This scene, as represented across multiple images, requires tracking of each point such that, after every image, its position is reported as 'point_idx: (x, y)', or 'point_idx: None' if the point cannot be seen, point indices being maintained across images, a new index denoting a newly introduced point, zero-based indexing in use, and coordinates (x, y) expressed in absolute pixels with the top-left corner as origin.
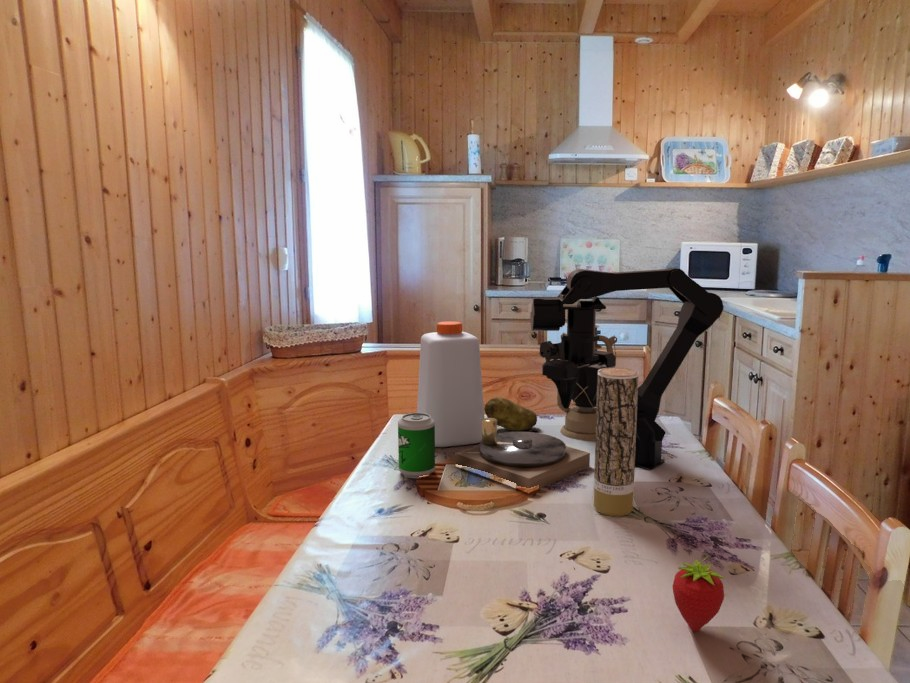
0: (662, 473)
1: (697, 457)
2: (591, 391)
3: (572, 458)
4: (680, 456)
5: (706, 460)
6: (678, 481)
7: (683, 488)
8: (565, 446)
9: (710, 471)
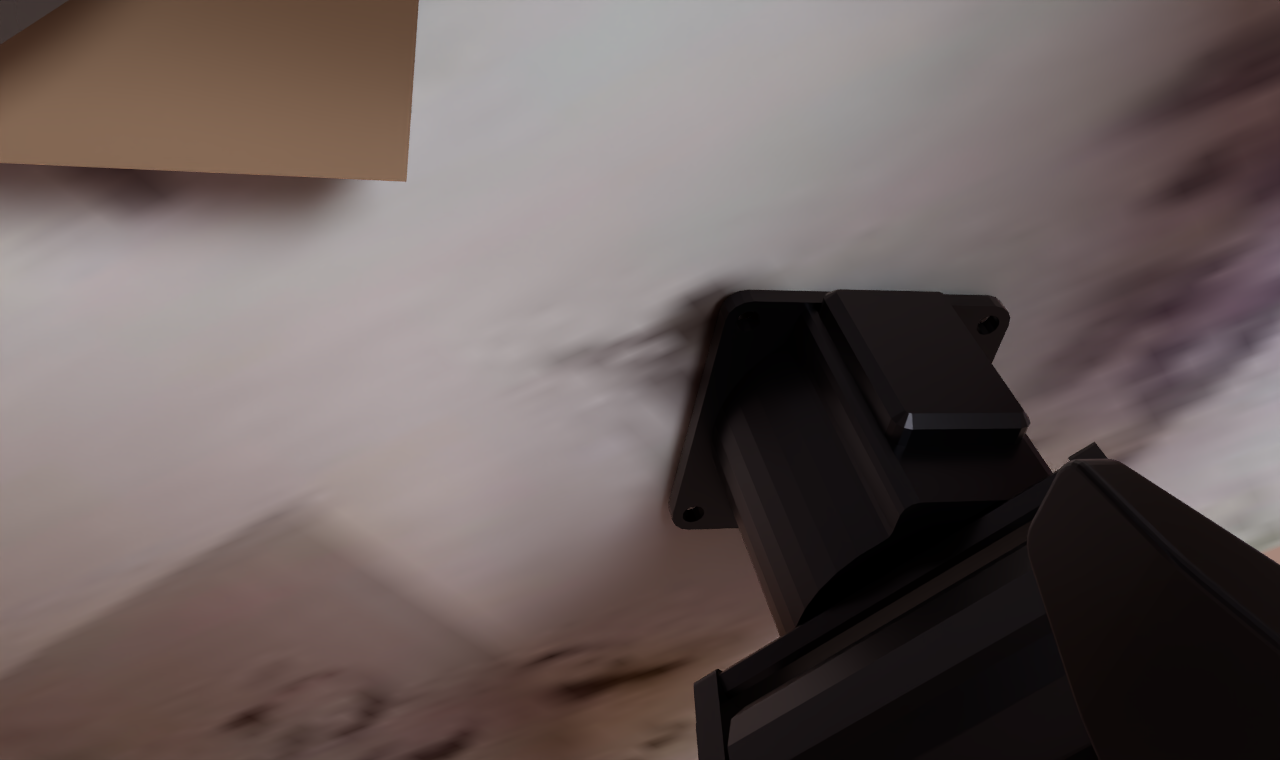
0: (661, 580)
1: None
2: (1163, 686)
3: (9, 122)
4: None
5: None
6: (569, 693)
7: (462, 752)
8: (28, 15)
9: None
